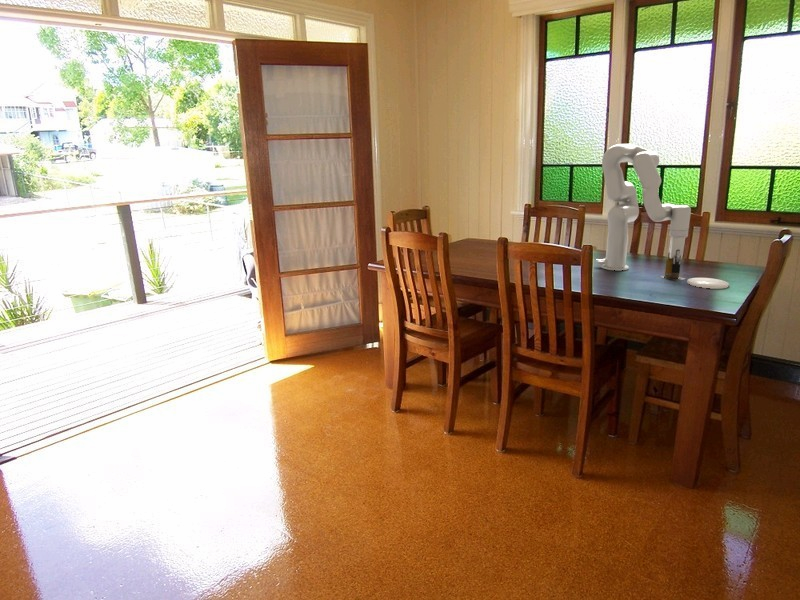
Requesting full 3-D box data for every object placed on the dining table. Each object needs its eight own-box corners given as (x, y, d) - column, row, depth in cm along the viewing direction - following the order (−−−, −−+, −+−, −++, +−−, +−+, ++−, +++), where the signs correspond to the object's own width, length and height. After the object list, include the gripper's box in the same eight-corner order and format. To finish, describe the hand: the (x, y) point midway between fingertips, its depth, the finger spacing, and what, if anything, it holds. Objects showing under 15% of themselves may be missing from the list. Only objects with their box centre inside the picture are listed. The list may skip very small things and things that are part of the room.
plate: (689, 287, 235) (690, 285, 234) (685, 278, 249) (685, 276, 249) (731, 290, 229) (732, 287, 229) (724, 281, 243) (724, 278, 243)
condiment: (670, 275, 256) (673, 250, 252) (686, 279, 248) (689, 253, 245) (659, 277, 253) (662, 252, 249) (675, 281, 245) (678, 255, 242)
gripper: (667, 230, 254) (663, 265, 259) (671, 236, 238) (667, 274, 243) (685, 230, 251) (680, 266, 256) (690, 236, 236) (685, 275, 240)
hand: (674, 270), depth 249 cm, fingers open, 8 cm apart
